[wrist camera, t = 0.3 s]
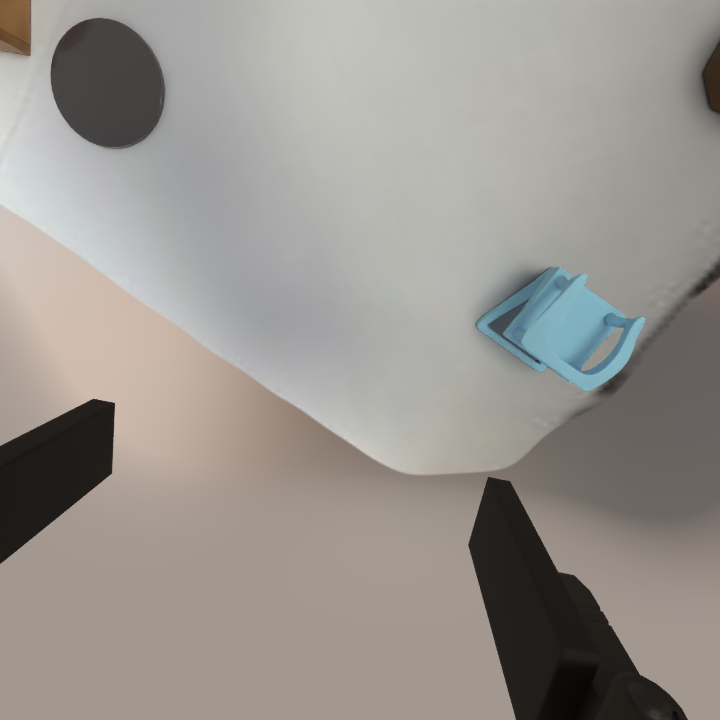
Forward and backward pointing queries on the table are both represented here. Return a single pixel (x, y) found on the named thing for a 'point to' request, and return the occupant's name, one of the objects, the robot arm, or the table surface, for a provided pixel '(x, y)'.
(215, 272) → the table surface
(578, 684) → the robot arm
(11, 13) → the wooden frame
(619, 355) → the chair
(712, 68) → the beer bottle
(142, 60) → the coaster
